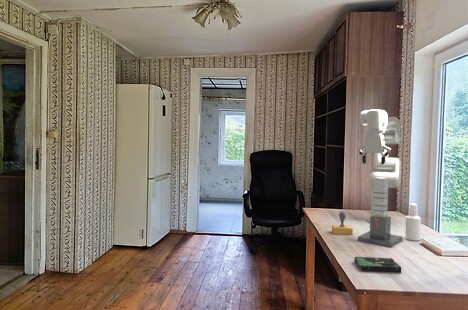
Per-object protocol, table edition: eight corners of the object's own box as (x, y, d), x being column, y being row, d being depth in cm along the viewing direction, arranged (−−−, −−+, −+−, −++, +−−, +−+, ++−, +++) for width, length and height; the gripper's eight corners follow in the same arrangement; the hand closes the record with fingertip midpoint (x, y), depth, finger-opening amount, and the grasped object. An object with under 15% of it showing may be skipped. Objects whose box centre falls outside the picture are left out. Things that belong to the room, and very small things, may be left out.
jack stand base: (370, 234, 176) (370, 212, 176) (402, 240, 165) (402, 216, 165) (357, 240, 165) (358, 216, 164) (391, 247, 154) (392, 222, 153)
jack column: (377, 220, 168) (377, 177, 168) (387, 221, 165) (388, 178, 164) (373, 221, 165) (373, 177, 164) (383, 223, 161) (384, 178, 160)
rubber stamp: (333, 234, 176) (334, 212, 176) (331, 231, 182) (332, 210, 182) (352, 235, 175) (353, 212, 175) (350, 232, 181) (350, 210, 181)
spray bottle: (418, 237, 170) (419, 203, 170) (421, 241, 164) (422, 205, 163) (404, 236, 173) (404, 202, 172) (406, 239, 166) (407, 204, 166)
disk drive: (391, 264, 133) (353, 262, 135) (391, 258, 133) (354, 256, 135) (401, 274, 123) (360, 272, 124) (402, 267, 123) (361, 265, 124)
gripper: (393, 132, 175) (392, 164, 176) (360, 132, 187) (360, 162, 188) (388, 132, 170) (388, 165, 171) (355, 132, 181) (355, 163, 182)
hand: (373, 163), depth 179 cm, fingers open, 9 cm apart
